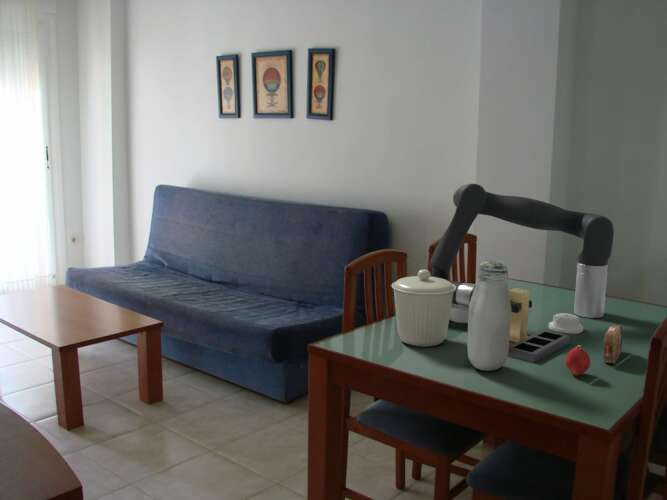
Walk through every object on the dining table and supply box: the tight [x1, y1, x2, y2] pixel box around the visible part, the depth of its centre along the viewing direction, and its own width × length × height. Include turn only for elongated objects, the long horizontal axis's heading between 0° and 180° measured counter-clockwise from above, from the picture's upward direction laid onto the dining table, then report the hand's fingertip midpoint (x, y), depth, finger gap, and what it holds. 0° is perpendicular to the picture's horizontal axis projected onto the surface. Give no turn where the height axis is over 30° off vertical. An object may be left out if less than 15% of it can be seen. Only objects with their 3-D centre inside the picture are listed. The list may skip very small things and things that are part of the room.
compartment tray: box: [507, 329, 570, 364], centre depth 177 cm, size 22×8×2 cm, turn 137°
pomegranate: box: [564, 344, 591, 377], centre depth 158 cm, size 6×6×8 cm
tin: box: [603, 324, 623, 365], centre depth 170 cm, size 15×3×8 cm, turn 148°
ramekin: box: [449, 304, 469, 324], centre depth 206 cm, size 11×11×5 cm
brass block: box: [508, 287, 531, 341], centre depth 186 cm, size 4×4×14 cm
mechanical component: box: [548, 312, 584, 335], centre depth 196 cm, size 10×4×10 cm
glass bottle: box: [467, 260, 511, 372], centre depth 160 cm, size 10×10×28 cm
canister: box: [391, 269, 456, 348], centre depth 182 cm, size 18×18×21 cm
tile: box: [509, 335, 530, 343], centre depth 187 cm, size 7×7×1 cm
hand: (525, 306), depth 184 cm, fingers open, 7 cm apart
